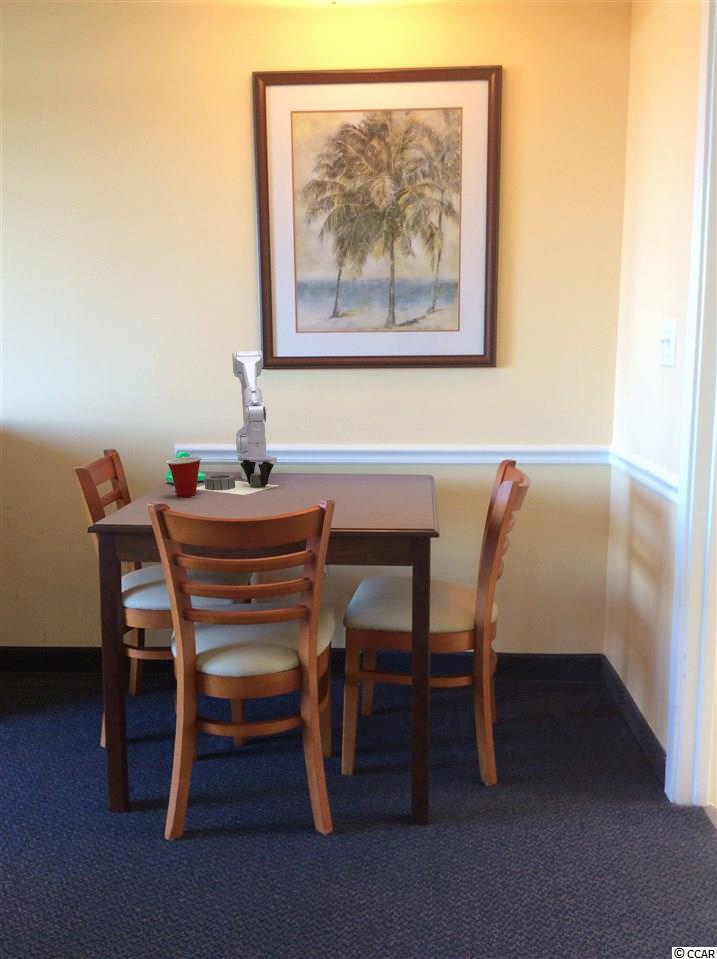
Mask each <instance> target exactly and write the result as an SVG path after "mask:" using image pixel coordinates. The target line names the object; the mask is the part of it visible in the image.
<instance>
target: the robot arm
mask: <svg viewBox="0 0 717 959" xmlns="http://www.w3.org/2000/svg"><path fill="white" fill-rule="evenodd" d="M231 357H232V358H231V359H232V369H233V370H232V371H233V372H232V373H233V377H236V378H238V379H239V382H240V386H241V388H240V389H241V402H242V418H243V426H241V428H239V429H238V430H236V435H235V436H236V438H235V446H236V452H237V454H238V455H237V461H238V462H240V467H241V468H240V469H241V480H245V481H247V482H248V484H250V474H253V473H261V483H262V485H267V484H269V480H270V475H271V472H272V470H273V469H274V466H275V464H277V463H278V459H277V458H278V457H275V456H270V455H267V452H266V451H267V439H266V423H267V422H266V421H267V409H266V406H265V402H264V400H263V394H262V389H261V388H260V387H258V377H260V376H261V373H262V371H263V364H264V362H263V361H264V359H263V352H262V350H260V349H259V350H234V351H233V352H232V356H231Z"/></svg>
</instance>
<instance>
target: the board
mask: <svg viewBox="0 0 717 959" xmlns="http://www.w3.org/2000/svg"><path fill="white" fill-rule="evenodd" d="M279 486H281V485H278V484H269V483H268V484H267V485H266V487H263V488H251V487H250V484H248V481H242V480H236V475H234V474H226V473H225V474H211V475H206V477H205V480H204V485H201V486H197V489H196V491H197V490H198V491H205V492H206V491H208V492H216V493H221V494H222V493H224V494H232V495H242V496H247V495H250V494H253V493H257V492H260V491H265V490H268V489H272V488H276V487H279Z"/></svg>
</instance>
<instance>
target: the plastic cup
mask: <svg viewBox="0 0 717 959" xmlns="http://www.w3.org/2000/svg"><path fill="white" fill-rule="evenodd" d="M201 460H202V457H201V456H191V457H182V458H176V459H175V458H172V459H168V460H166V464H167V465H168V468H170V470H171V474H172V478H173V482H174V483H173V486H174V488H175V494H176V496H177V498H181V497H187V498H193V497H192V496H194V497H196V494H197V490H196V489H197V487H198V483H199V481H198V473H199V472H200V463H201Z"/></svg>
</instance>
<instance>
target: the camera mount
mask: <svg viewBox="0 0 717 959" xmlns="http://www.w3.org/2000/svg"><path fill="white" fill-rule="evenodd" d="M182 457H192V456H191V455H190V454H189V453H187V452H184V451H179V452H177V454H176V455H175V456H174V459H176V458H182ZM168 468H169V469H168V470H167V472H166V474H165V481H166V482H169V483H172V484H174V482H173V478H172V474H171V470H170V467H168ZM206 476H207V474H205V473H202V472H200V471H199V473H198V482H199V481H205V477H206Z"/></svg>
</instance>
